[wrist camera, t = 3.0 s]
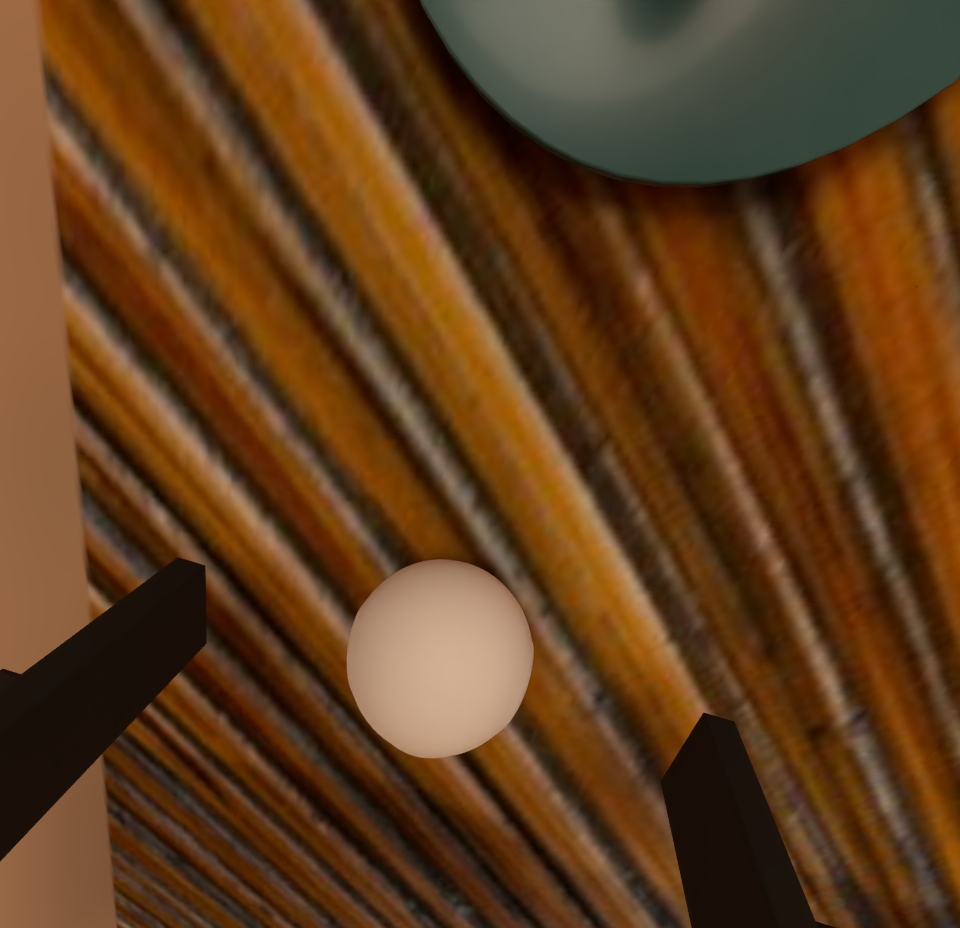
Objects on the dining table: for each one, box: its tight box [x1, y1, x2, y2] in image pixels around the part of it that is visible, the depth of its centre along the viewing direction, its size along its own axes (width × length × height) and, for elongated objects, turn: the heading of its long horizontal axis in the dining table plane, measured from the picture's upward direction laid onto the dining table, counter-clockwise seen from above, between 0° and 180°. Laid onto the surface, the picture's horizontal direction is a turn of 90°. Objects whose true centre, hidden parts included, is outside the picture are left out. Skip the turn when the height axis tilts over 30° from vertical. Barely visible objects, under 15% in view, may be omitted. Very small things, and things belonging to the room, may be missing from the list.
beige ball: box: [347, 559, 534, 758], centre depth 13 cm, size 5×5×5 cm
